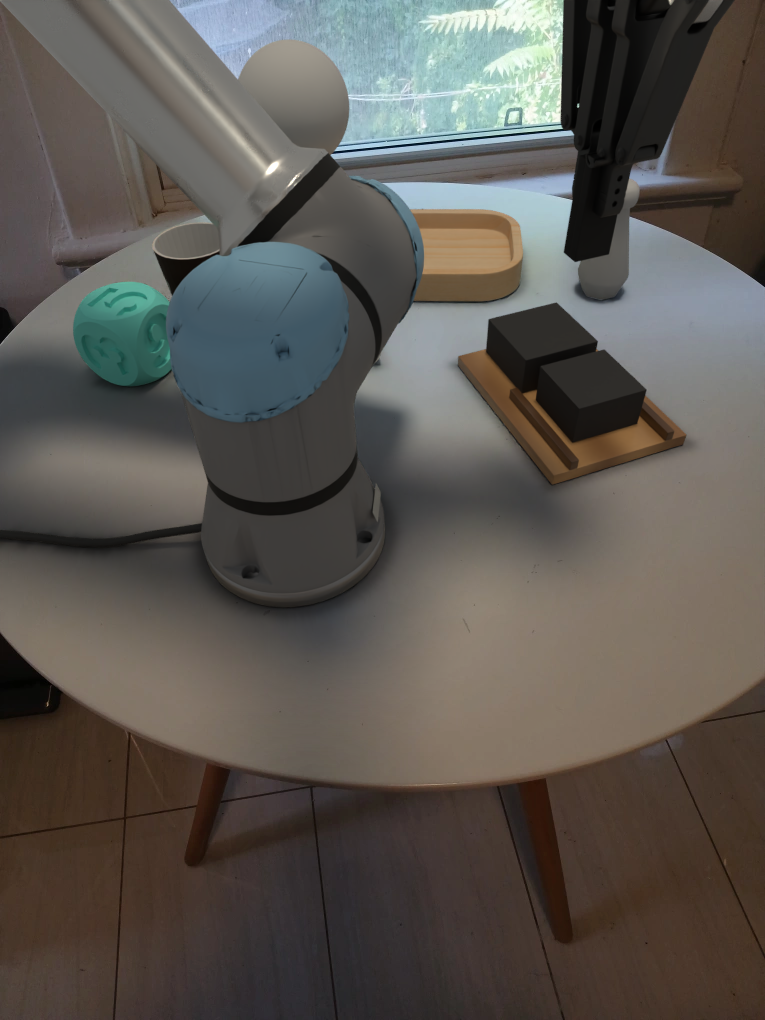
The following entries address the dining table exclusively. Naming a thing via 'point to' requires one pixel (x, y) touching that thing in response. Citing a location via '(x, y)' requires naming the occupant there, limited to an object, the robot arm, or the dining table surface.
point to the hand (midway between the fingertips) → (586, 253)
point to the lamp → (445, 232)
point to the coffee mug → (184, 250)
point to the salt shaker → (611, 256)
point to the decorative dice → (124, 333)
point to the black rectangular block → (589, 395)
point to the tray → (550, 441)
